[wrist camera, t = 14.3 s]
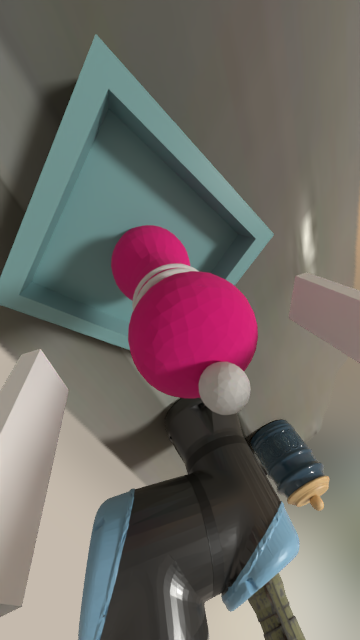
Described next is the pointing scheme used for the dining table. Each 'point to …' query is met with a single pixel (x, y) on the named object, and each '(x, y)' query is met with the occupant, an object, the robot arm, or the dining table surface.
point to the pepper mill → (184, 321)
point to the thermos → (275, 612)
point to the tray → (119, 205)
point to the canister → (290, 464)
